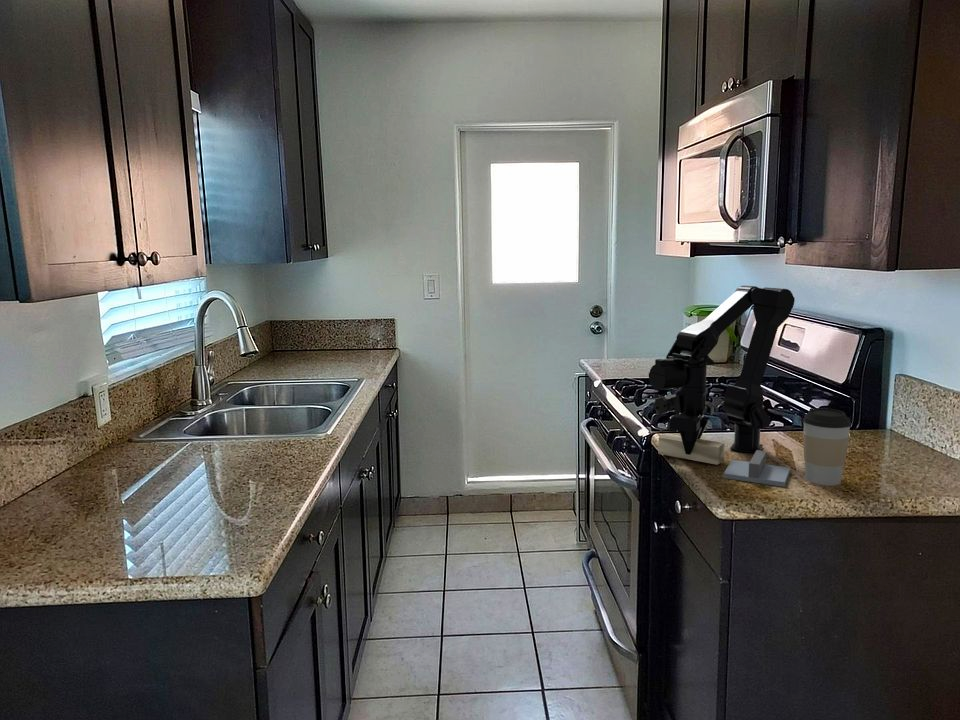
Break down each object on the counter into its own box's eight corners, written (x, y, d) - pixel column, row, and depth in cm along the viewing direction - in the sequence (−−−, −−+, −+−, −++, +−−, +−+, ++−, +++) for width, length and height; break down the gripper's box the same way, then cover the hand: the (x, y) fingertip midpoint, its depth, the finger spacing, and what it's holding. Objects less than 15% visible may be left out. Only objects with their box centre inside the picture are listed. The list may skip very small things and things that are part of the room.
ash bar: (665, 449, 163) (665, 433, 162) (723, 460, 154) (724, 443, 153) (658, 453, 160) (658, 437, 159) (717, 464, 151) (718, 447, 150)
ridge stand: (732, 464, 153) (732, 447, 153) (790, 472, 147) (791, 454, 147) (723, 477, 145) (724, 459, 144) (784, 486, 139) (785, 468, 138)
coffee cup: (848, 476, 144) (853, 407, 141) (846, 490, 136) (851, 417, 134) (801, 470, 149) (805, 403, 146) (796, 483, 141) (801, 412, 138)
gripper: (668, 374, 166) (666, 436, 169) (645, 390, 150) (644, 458, 153) (715, 378, 160) (712, 442, 163) (697, 395, 145) (694, 465, 147)
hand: (690, 451), depth 157 cm, fingers closed on ash bar, 4 cm apart
